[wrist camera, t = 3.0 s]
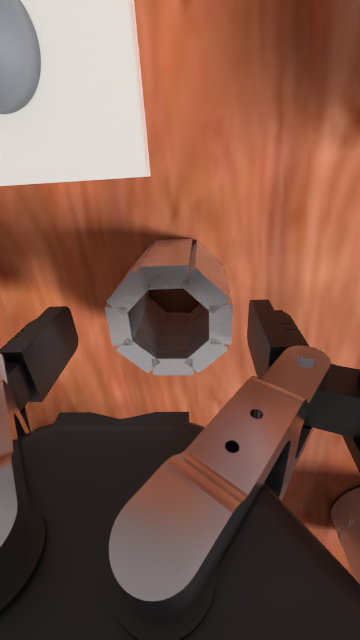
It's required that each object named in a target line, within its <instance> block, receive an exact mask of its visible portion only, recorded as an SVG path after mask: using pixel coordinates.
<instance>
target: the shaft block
mask: <svg viewBox="0 0 360 640" xmlns="http://www.w3.org/2000/svg"><path fill="white" fill-rule="evenodd" d="M149 176H151V174H150V163H149V153H148V142H147V132H146V121H145V111H144V100H143V90H142V79H141V69H140V58H139V48H138V37H137V26H136V16H135V5H134V0H0V186H10V185H25V184H41V183H56V182H72V181H87V180H103V179H119V178H134V177H149Z"/></svg>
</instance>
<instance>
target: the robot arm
mask: <svg viewBox="0 0 360 640" xmlns="http://www.w3.org/2000/svg"><path fill="white" fill-rule="evenodd" d="M247 339H248V346H249V349H250V353H251V356H252V360H253V363H254V367H255V370H256V374H257V377H258V378H257V377H254V376H252V377H250V378H249V379H248V380H247V381H246V382H245V383H244V384H243V386H242V387H241V388H240V389H239V390H238V391H237V392H236V393H235V395H234V396H233V397H232V398H231V399H230V400H229V401H228V402H227V404H226V405H225V406H224V407H223V408H222V409H221V410H220V411H219V413H218V414H217V415H216V416H215V417H214V418H213V419H212V421H211V422H210V423H209V424H208V425H207V426H206V427H203V426H200V425H197V424H194V423H190V422H189V412H154V413H150V414H145V415H140V416H135V417H130V418H126V419H117V418H113V417H108V416H104V415H100V414H95V413H91V412H85V413H59V415H58V417H57V419H56V421H55V422H54V423H53V424H49V425H46V426H43V427H40V428H38V429H35V430H33V428H32V424H31V420H30V416H29V412H28V410H27V408H26V406H25V405H26V404H27V403H28V402H42V401H43V400H44V398H45V397H46V395H47V394H48V392H49V391H50V389H51V388H52V386H53V385H54V383H55V382H56V380H57V379H58V377H59V375H60V374H61V372H62V371H63V369H64V368H65V366H66V365H67V363H68V362H69V360H70V359H71V357H72V356H73V354H74V353H75V351H76V349H77V347H78V335H77V332H76V328H75V325H74V321H73V318H72V314H71V311H70V309H69V308H68V307H67V306H62V307H49V308H47V309H46V310H45V311H44V312H43V313H42V314H41V315H40V316H39V317H38V318H37V319H35V320H34V321H32V322H30V323H28V324H27V325H26V326H25V327H24V328H23V329H22V330H21V332H18V333H17V334H16V335H15V337H13V338H12V339H11V340H10V341H9V342H8V343H7V344H6V345H4V346H3V347H2V348H1V349H0V640H360V487H358V488H356V489H354V490H352V491H350V492H348V493H346V494H345V495H343V496H342V497H340V498H339V499H338V500H337V501H336V502H335V504H334V505H333V507H332V510H331V517H332V521H333V523H334V526H335V528H336V531H337V534H338V538H339V540H340V543H341V546H342V547H343V550H344V552H345V555H346V558H347V560H348V563H349V566H350V569H351V571H352V574H353V576H352V575H351V574H350V573H349V572H348V571H347V570H346V569H345V568H344V567H343V565H342V564H341V563H340V562H339V561H338V560H337V559H336V558H335V557H334V556H333V555H332V554H331V553H330V552H329V551H328V550H327V549H326V547H325V546H324V545H323V544H322V543H321V542H320V541H319V540H318V539H317V538H316V537H315V536H314V535H313V534H312V533H311V532H310V530H309V529H308V528H307V527H306V526H305V525H304V524H303V523H302V522H301V521H300V520H299V519H298V518H297V517H296V516H295V515H294V513H293V512H292V511H291V510H290V509H289V508H288V507H287V506H286V505H285V504H284V503H283V502H282V499H283V497H284V495H285V492H286V490H287V488H288V485H289V482H290V479H291V476H292V473H293V471H294V469H295V466H296V464H297V462H298V460H299V458H300V456H301V454H302V452H303V450H304V448H305V446H306V444H307V442H308V440H309V438H310V436H311V434H312V432H313V430H314V428H317V429H321V430H325V431H329V432H333V433H337V434H340V435H342V436H343V438H344V440H345V442H346V445H347V447H348V449H349V451H350V453H351V455H352V457H353V459H354V462H355V464H356V466H357V468H358V470H359V472H360V370H359V369H353V368H348V367H342V366H337V365H334V364H331V361H330V358H329V357H328V356H327V355H326V354H325V353H324V352H322V351H320V350H318V349H316V348H313V347H309V345H308V343H307V342H306V340H305V339H304V337H303V335H302V334H301V332H300V331H299V330H298V327H297V326H296V324H295V323H294V321H293V319H292V318H291V316H289V315H288V314H286V313H285V312H283V311H282V310H275V311H274V309H273V307H272V305H271V303H270V301H269V300H250V303H249V315H248V330H247Z"/></svg>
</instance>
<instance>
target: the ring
mask: <svg viewBox="0 0 360 640" xmlns="http://www.w3.org/2000/svg"><path fill="white" fill-rule="evenodd" d="M151 289H185V290H186V291H187V292H188V293H189V294H190V295H192V296H193V297H194V298H195V299H196V300H197V301H199V302H200V304H199V305H198V306H197V307H195V308H194V309H193V310H192V311H191V312H166V311H165V310H164V309H163V308H161V307H160V306H159V305H158V304H157V303H155V302H154V301H153V300H152V299H150V296H149V290H151ZM106 302H107V303H108V304H107V305H106V307H105V312H106V317H107V322H108V326H109V331H110V336H111V341H112V346H116V345H118V346H117V349H116V351H117V352H119V353H120V354H122V355H123V356H124V357H126V358H127V359H129V360H130V361H131V362H133V363H134V364H136V365H137V366H138V367H140V368H141V369H143V370H144V371H145V372H147V373H149V372H150V371H151V370H152V369H153V375H193V373H194V370H195V371H197V372H198V373H200V372H201V371H202V370H204V369H205V368H206V367H207V366H208V365H210V364H211V363H212V362H213V361H215V360H216V359H217V358H218V357H220V356H221V355H222V354H223V353H225V352H226V351H227V350H228V344H231V337H232V310H233V304H232V300H231V296H230V291H229V287H228V283H227V279H226V275H225V270H224V268H223V266H222V263H221V262H220V261H218V260H217V259H216V258H215V257H214V256H213V255H212V254H211V253H210V252H209V251H208V250H207V249H206V248H205V247H204V246H203V245H202V244H200V243H199V242H198V241H196V242H195V243H194V244H193V245H192V238H190V239H168V240H156V242H155V244H154V243H153V242H152V243H151V244H150V246H149V247H148V248H147V249H146V250H145V251H144V253H143V254H142V255H141V256H140V257H139V259H138V260H137V261H136V262H135V263H134V265H133V266H132V267H131V268H130V270H129V271H128V273H127V274H126V275H125V277H124V278H123V279H122V281H121V282H120V284H119V285H118V286H117V288H116V289H115V290H114V292H113V293H112V295H111V296H110V297H109V299H108V300H107V301H106Z"/></svg>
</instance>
